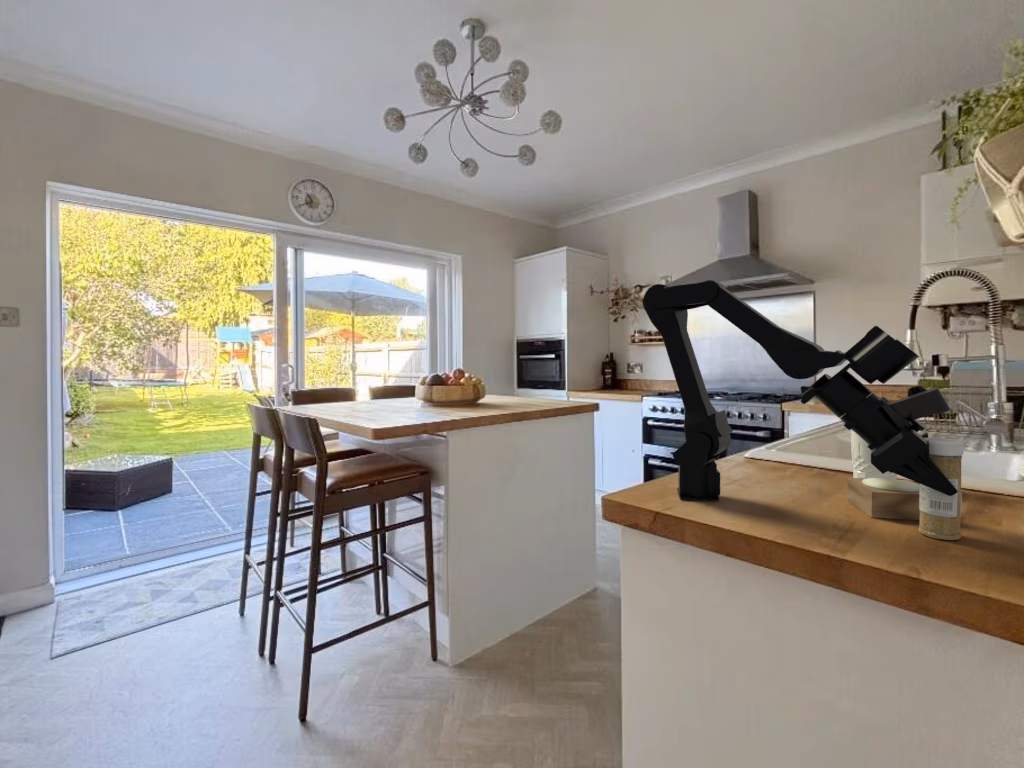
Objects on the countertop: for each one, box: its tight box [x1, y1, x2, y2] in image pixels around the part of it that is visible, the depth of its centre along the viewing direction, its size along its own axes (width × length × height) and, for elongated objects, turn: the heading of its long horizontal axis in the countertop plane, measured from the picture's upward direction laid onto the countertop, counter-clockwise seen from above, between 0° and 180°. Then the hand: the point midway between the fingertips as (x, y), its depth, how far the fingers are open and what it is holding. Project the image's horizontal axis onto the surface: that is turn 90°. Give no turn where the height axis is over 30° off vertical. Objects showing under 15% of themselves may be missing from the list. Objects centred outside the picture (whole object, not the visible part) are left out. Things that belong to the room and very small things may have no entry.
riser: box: [846, 477, 920, 521], centre depth 79 cm, size 9×9×4 cm
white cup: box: [850, 429, 898, 479], centre depth 95 cm, size 8×8×10 cm
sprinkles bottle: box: [917, 436, 965, 541], centre depth 67 cm, size 5×5×13 cm
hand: (953, 490), depth 67 cm, fingers closed on sprinkles bottle, 4 cm apart
